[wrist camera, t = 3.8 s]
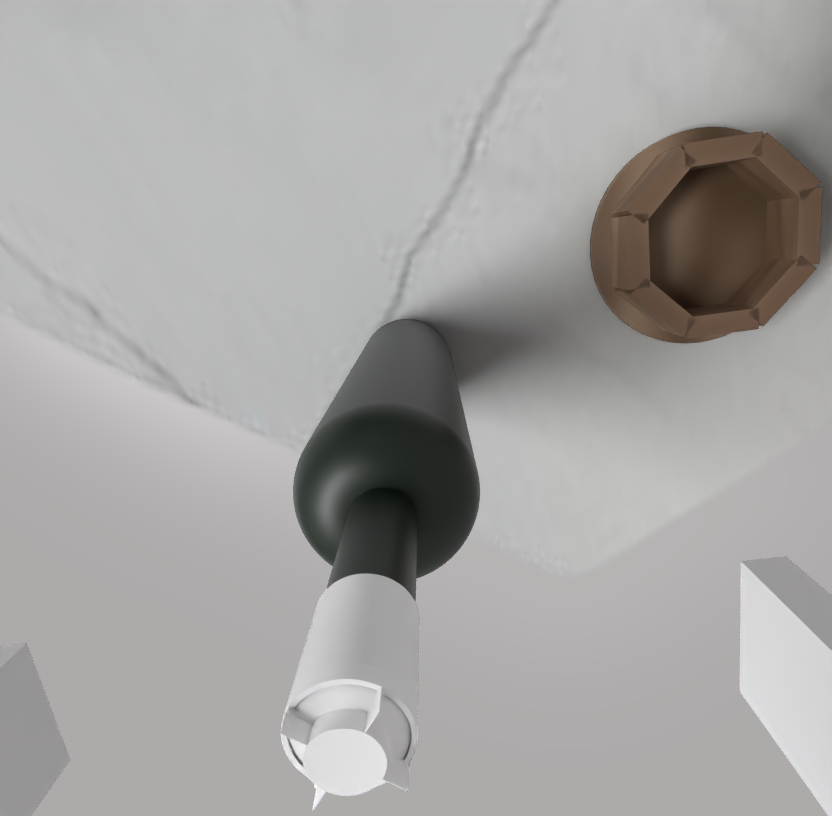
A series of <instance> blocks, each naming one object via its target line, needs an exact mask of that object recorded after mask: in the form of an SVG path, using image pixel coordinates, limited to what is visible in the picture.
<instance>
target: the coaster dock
mask: <svg viewBox="0 0 832 816" xmlns="http://www.w3.org/2000/svg"><path fill="white" fill-rule="evenodd" d="M819 183H820V181H819V180H818V179H817V178H816V177H815V176H814V175H813V174H811V173H810V172H809V171H808V170H807V169H806V168H805V167H804V166H803V165H802V164H801V163H800V162H799V161H797V160H796V159H795V158H794V157H793V156H792V155H791V154H790V153H789V152H788V151H787V150H786V149H785V148H783V147H782V146H781V145H780V144H779V143H778V142H777V141H776V140H775V139H774V138H773V137H772V136H770V135H769V134H768V133H766V134H763V131H762V132H756V133H749V134H747V133H745V132H742V131H739V130H734V129H730V128H722V127H704V128H695V129H691V130H686V131H682V132H680V133H677V134H674V135H671V136H669V137H666V138H664V139H662V140H660V141H658V142H656V143H654V144H653V145H651V146H649V147H648V148H646V149H645V150H643V151H642V152H640V153H639V154H637V155H636V156H635V157H634V158H633V159H632V160H631V161H630V162H628V163H627V164H626V165H625V166H624V167H623V169H622V170H621V171H620V172H619V173H618V174H617V175H616V177H615V178H614V180H613V181H612V182H611V184H610V185H609V187H608V188H607V190H606V192H605V194H604V196H603V198H602V199H601V202H600V204H599V207H598V209H597V212H596V214H595V218H594V222H593V226H592V232H591V239H590V259H591V267H592V272H593V275H594V279H595V282H596V285H597V287H598V290H599V292H600V294H601V296H602V297H603V299H604V301H605V302H606V304H607V305H608V307H609V308H610V309H611V310H612V312H613V313H614V314H615V315H616V316H617V317H618V318H619V319H620V320H622V321H623V322H624V323H625V324H627V325H628V326H630V327H631V328H633V329H634V330H636V331H638V332H640V333H642V334H644V335H647V336H650V337H653V338H655V339H658V340H662V341H667V342H673V343H697V342H703V341H708V340H713V339H716V338H719V337H722V336H725V335H727V334H729V333H731V332H739V331H746V330H754V329H759V325H760V326H764V325H765V324H766V323H767V322H768V321H769V320H770V319H771V317H772V316H773V315H774V314H775V313H776V312H777V311H778V310H779V309H780V308H781V307H782V306H783V304H784V303H785V302H786V301H787V300H788V299H789V298H790V297H791V296H792V295H793V294H794V293H795V292H796V290H797V289H798V288H799V287H800V286H801V285H802V284H803V283H804V282H805V281H806V280H807V279H808V277H809V276H810V275H811V274H812V273H813V272H814V271H815V270H816V269H817V268H815V267H814V266H813V265H812V264H819V251H820V230H821V209H822V188H823V187H819V188H816V187H817V186H818V185H819Z"/></svg>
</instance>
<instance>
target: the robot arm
mask: <svg viewBox="0 0 832 816" xmlns="http://www.w3.org/2000/svg"><path fill="white" fill-rule="evenodd" d="M740 623H741V624H740V628H741V629H740V692H741V694H742V695H743V696H744V698H745V699H746V701H747V702H748V703H749V705H750V706H751V708H752V709H753V710H754V712H755V713H756V714H757V716H758V718H759V719H760V720H761V722H762V723H763V725H764V726H765V727H766V729H767V730H768V731H769V733H770V734H771V736H772V737H773V739H774V740H775V741H776V743H777V744H778V746H779V747H780V748H781V750H782V751H783V753H784V754H785V755H786V757H787V758H788V760H789V761H790V762H791V764H792V765H793V767H794V768H795V769H796V771H797V772H798V774H799V775H800V777H801V778H802V779H803V781H804V782H805V784H806V785H807V786H808V788H809V789H810V791H811V792H812V793H813V795H814V796H815V797H816V799H817V800H818V802H819V803H820V804H821V806H822V807H823V808H824V810H825V812H826V813H827V814H828V816H832V595H831V594H830V593H828V592H827V591H826V590H825V589H824V588H823V587H821V586H820V585H819V584H818V583H817V582H815V581H814V580H813V579H812V578H811V577H810V576H808V575H807V574H806V573H805V572H804V571H803V570H801V569H800V568H799V567H798V566H797V565H795V564H794V563H793V562H792V561H791V560H789V559H788V558H787V557H786V556H784V557H775V558H766V559H757V560H748V561H741V619H740ZM69 761H70V757H69V755H68V752H67V749H66V747H65V744H64V741H63V739H62V736H61V733H60V731H59V728H58V725H57V723H56V720H55V717H54V715H53V712H52V709H51V707H50V705H49V701H48V698H47V696H46V693H45V690H44V688H43V685H42V682H41V680H40V677H39V674H38V672H37V669H36V666H35V664H34V661H33V658H32V656H31V653H30V650H29V648H28V646H27V643H21V644H12V645H3V646H0V816H31V815H32V814H33V812H34V811H35V810H36V808H37V807H38V805H39V804H40V802H41V801H42V800H43V798H44V797H45V795H46V794H47V792H48V791H49V790H50V788H51V787H52V785H53V784H54V782H55V781H56V779H57V778H58V777H59V775H60V774H61V772H62V771H63V769H64V768H65V767H66V765H67V764H68V762H69Z"/></svg>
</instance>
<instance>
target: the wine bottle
mask: <svg viewBox="0 0 832 816" xmlns="http://www.w3.org/2000/svg"><path fill="white" fill-rule="evenodd" d="M293 499H294V507H295V512H296V516H297V519H298V522H299V525H300V527H301V529H302V531H303V533H304V535H305V537H306V539H307V540H308V542H309V543H310V545H311V546H312V547H313V549H314V550H315V551H316V552H317V553H318V554H319V555H320V556H321V557H322V558H323V559H324V560H325V561H327V562H328V563H329V564H330V565H332V566H333V569H332V572H331V575H330V579H329V583H328V586H327V589H326V591H325V592H324V593H323V594H322V596H321V597H320V599H319V601H318V604H317V607H316V610H315V613H314V617H313V620H312V623H311V627H310V630H309V633H308V637H307V640H306V643H305V646H304V650H303V653H302V656H301V660H300V663H299V666H298V669H297V673H296V676H295V679H294V683H293V686H292V689H291V693H290V696H289V699H288V703H287V706H286V709H285V712H284V716H283V719H282V723H281V731H280V734H281V741H282V745H283V748H284V750H285V753H286V754H287V756H288V758H289V759H290V761H291V762H292V763H293V765H294V766H295V767H296V768H297V769H298V770H299V771H300V772H301V773H303V774H304V775H305V776H307V777H308V778H309V779H310V780H311V781H312V782H313V783H314V784H315V786H314V787H315V788H317V789H316V794H315V799H314V804H313V809H312V811H314V809H315V808H316V806H317V805H318V803H319V802H320V800H321V799H322V797H323V796H324V794H325V793H326V792H329V793H331V794H336V795H343V796H352V795H358V794H362V793H365V792H367V791H369V790H371V789H372V788H374V787H376V786H379V785H381V784H384V783H386V782H388V783H390V784H392V785H394V786H396V787H399V788H401V789H403V790H405V791H407V792H408V789H409V766H410V762H411V760H412V758H413V756H414V754H415V750H416V747H417V742H418V687H419V686H418V685H419V625H420V618H419V611H418V607H417V605H416V603H415V599H416V598H415V597H416V578H419V577H422V576H424V575H426V574H429V573H431V572H433V571H434V570H436V569H438V568H439V567H440V566H442V565H443V564H445V563H446V562H447V561H448V560H449V559H451V558H452V557H453V555H454V554H455V553H456V552H457V551H458V550H459V549H460V548H461V546H462V545H463V544H464V542H465V541H466V539H467V537H468V536H469V534H470V532H471V530H472V528H473V525H474V522H475V520H476V516H477V512H478V508H479V500H480V484H479V476H478V471H477V467H476V463H475V458H474V454H473V450H472V445H471V441H470V437H469V433H468V428H467V424H466V420H465V415H464V411H463V407H462V402H461V398H460V394H459V389H458V385H457V381H456V376H455V372H454V368H453V363H452V359H451V355H450V351H449V348H448V345H447V343H446V342H445V340H444V338H443V337H442V336H441V335H440V334H439V333H438V332H437V331H436V330H435V329H434V328H432V327H431V326H429V325H427V324H425V323H423V322H420V321H417V320H410V319H403V320H397V321H393V322H390V323H388V324H386V325H384V326H383V327H381V328H380V329H378V330H377V331H376V332H375V333H374V334H373V336H372V337H371V338H370V340H369V341H368V343H367V345H366V346H365V348H364V350H363V351H362V353H361V355H360V356H359V358H358V360H357V361H356V363H355V365H354V366H353V368H352V370H351V371H350V373H349V375H348V376H347V378H346V380H345V382H344V383H343V385H342V387H341V388H340V390H339V392H338V393H337V395H336V397H335V398H334V400H333V402H332V403H331V405H330V407H329V408H328V410H327V412H326V413H325V415H324V417H323V418H322V420H321V422H320V423H319V425H318V427H317V428H316V430H315V432H314V433H313V435H312V437H311V438H310V440H309V442H308V443H307V445H306V447H305V448H304V450H303V452H302V454H301V457H300V459H299V462H298V465H297V468H296V472H295V477H294V486H293Z"/></svg>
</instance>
